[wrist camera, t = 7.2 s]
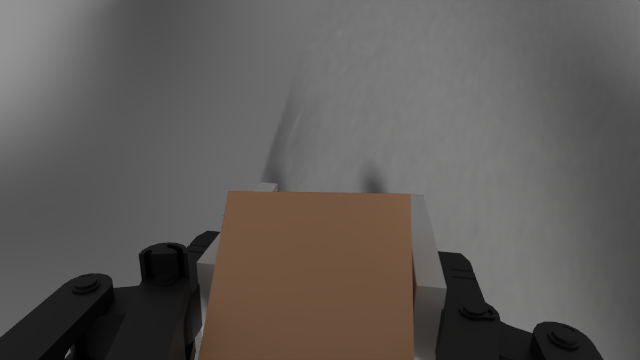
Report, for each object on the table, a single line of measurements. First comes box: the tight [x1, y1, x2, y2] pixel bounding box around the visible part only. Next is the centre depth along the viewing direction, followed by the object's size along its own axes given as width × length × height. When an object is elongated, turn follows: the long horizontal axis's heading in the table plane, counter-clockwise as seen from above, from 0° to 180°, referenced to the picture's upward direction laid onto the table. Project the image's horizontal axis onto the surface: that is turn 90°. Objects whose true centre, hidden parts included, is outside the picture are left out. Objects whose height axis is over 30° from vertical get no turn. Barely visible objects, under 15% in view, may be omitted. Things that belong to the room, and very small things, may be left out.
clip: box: [198, 191, 414, 360], centre depth 16 cm, size 5×4×11 cm
